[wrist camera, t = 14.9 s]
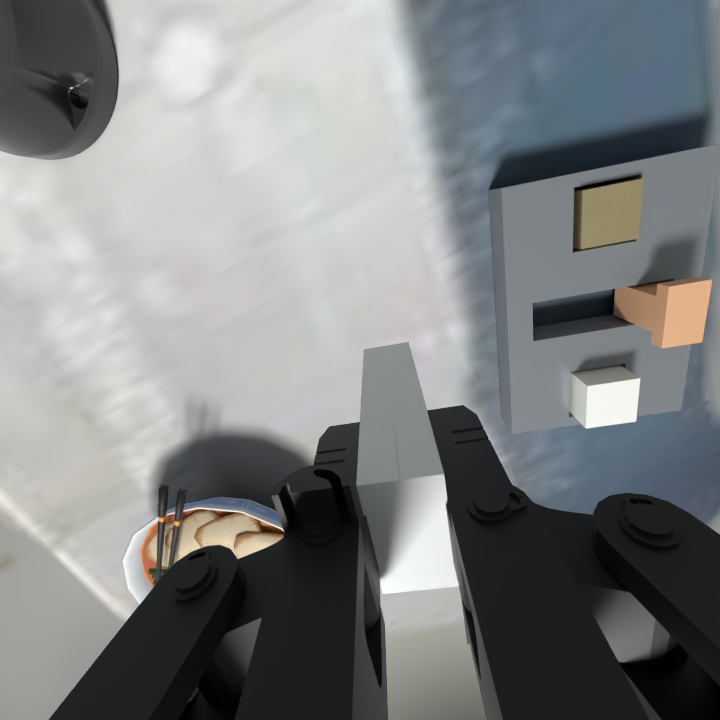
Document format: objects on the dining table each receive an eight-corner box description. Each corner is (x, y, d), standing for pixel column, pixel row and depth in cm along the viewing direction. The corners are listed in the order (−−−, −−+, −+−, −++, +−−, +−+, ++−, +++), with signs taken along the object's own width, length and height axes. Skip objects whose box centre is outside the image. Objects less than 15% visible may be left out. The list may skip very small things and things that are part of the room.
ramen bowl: (306, 611, 54) (295, 677, 47) (148, 575, 52) (111, 637, 45) (356, 482, 45) (352, 537, 37) (167, 431, 43) (123, 479, 35)
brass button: (558, 192, 32) (582, 190, 28) (611, 181, 32) (643, 178, 28) (557, 244, 34) (581, 249, 30) (608, 235, 33) (638, 238, 30)
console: (488, 190, 32) (501, 188, 29) (684, 149, 31) (721, 143, 28) (501, 415, 41) (512, 433, 38) (655, 393, 39) (681, 410, 36)
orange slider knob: (616, 272, 34) (669, 286, 28) (651, 266, 33) (712, 279, 27) (612, 324, 36) (661, 348, 30) (645, 319, 35) (702, 342, 29)
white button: (565, 367, 36) (587, 386, 33) (612, 360, 36) (640, 378, 32) (565, 406, 38) (585, 428, 34) (610, 400, 38) (636, 421, 34)
